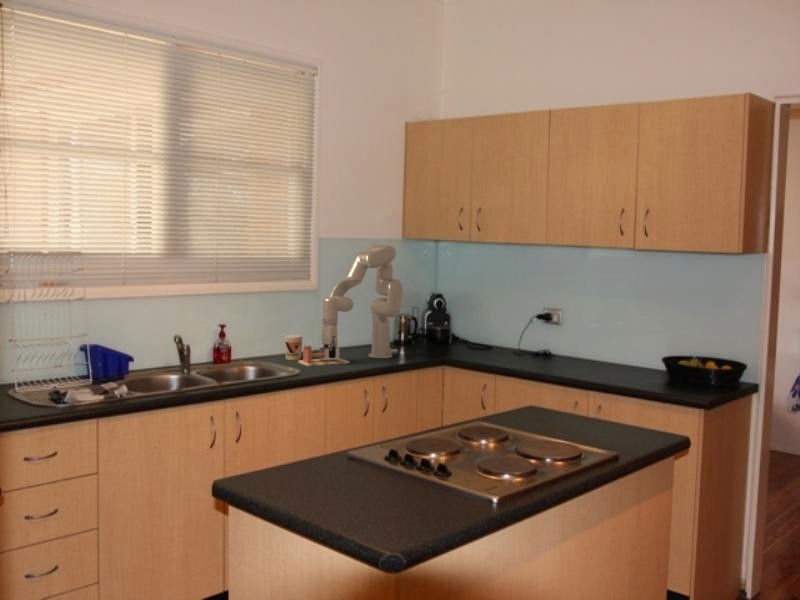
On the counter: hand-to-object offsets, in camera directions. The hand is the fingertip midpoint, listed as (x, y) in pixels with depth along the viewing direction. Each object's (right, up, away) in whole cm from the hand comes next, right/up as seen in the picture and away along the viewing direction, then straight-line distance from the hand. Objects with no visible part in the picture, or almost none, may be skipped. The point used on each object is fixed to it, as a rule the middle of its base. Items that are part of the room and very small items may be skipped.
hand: (329, 356), depth 422 cm
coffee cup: (-19, -2, +9) cm, 21 cm away
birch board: (-3, -3, -1) cm, 4 cm away
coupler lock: (0, -1, 0) cm, 1 cm away
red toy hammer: (-6, -2, -3) cm, 7 cm away
